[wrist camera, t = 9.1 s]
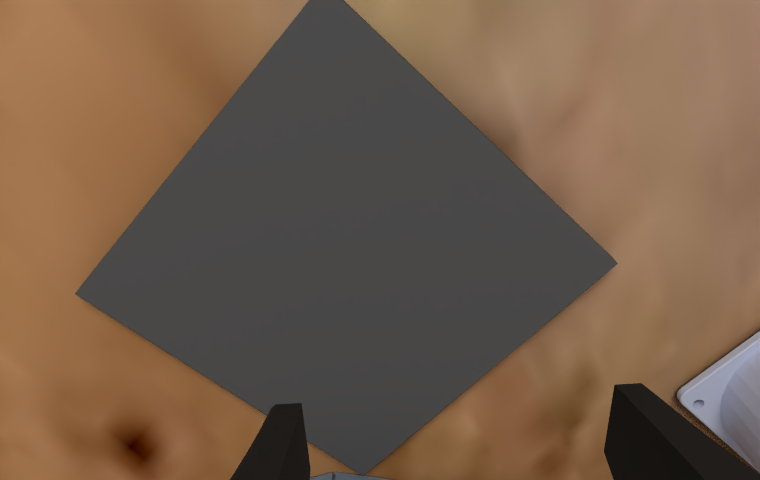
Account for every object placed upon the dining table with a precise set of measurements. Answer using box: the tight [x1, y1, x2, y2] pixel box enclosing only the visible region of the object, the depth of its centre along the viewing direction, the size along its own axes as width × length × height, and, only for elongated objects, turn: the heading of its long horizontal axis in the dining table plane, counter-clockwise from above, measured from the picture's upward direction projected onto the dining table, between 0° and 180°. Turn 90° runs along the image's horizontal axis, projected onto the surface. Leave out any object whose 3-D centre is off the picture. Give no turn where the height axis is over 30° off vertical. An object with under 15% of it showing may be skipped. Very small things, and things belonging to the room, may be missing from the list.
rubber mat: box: [75, 0, 617, 476], centre depth 23 cm, size 15×15×1 cm
